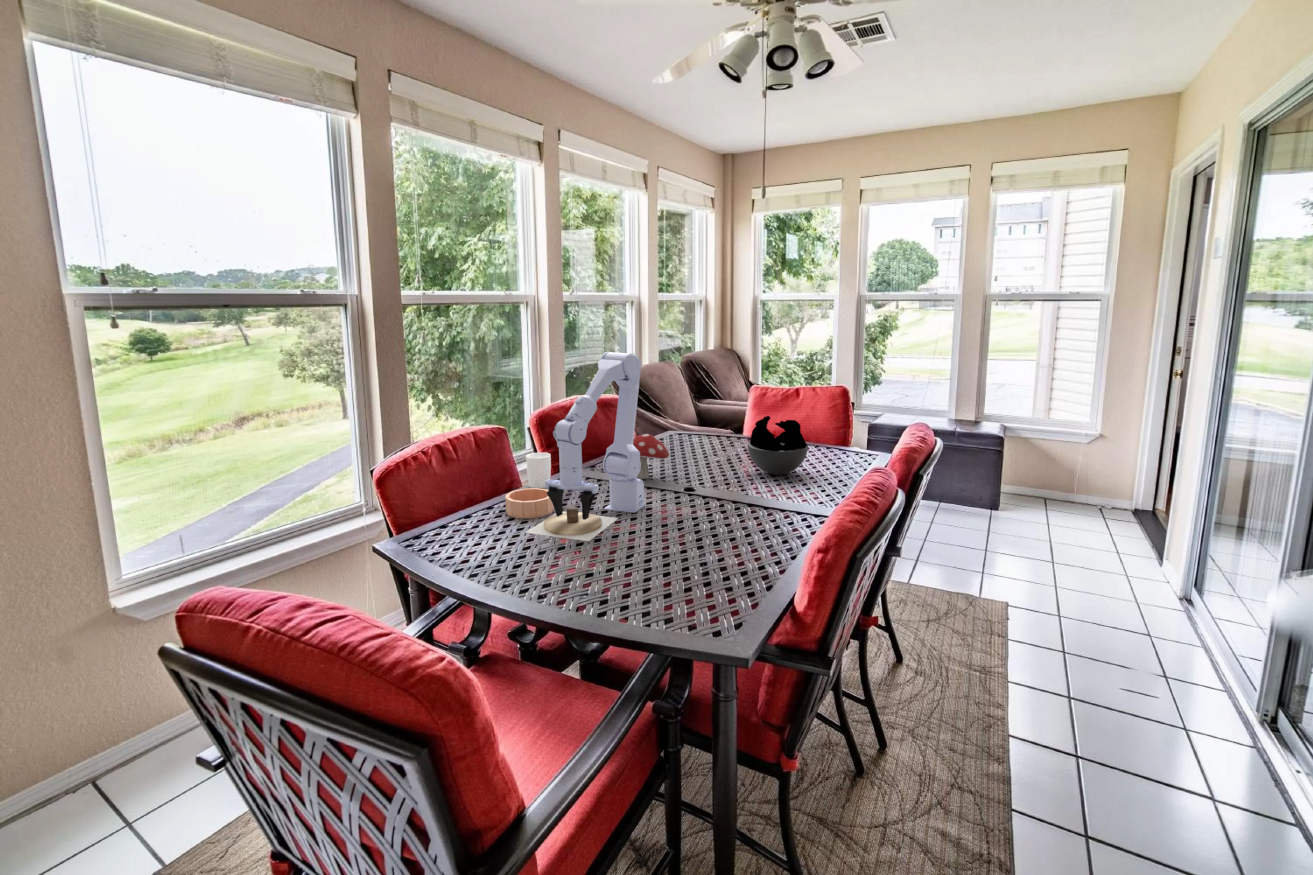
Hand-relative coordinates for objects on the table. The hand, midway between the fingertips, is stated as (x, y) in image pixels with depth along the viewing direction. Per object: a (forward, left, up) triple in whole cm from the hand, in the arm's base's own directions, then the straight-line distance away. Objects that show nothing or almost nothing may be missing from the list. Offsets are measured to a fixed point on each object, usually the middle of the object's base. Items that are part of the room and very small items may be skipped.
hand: (572, 516), depth 170 cm
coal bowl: (-41, -70, -3) cm, 81 cm away
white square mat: (0, 0, -3) cm, 3 cm away
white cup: (+28, -31, -3) cm, 42 cm away
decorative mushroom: (-1, -50, -3) cm, 50 cm away
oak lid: (0, 0, -2) cm, 2 cm away
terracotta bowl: (+17, -7, -3) cm, 19 cm away
